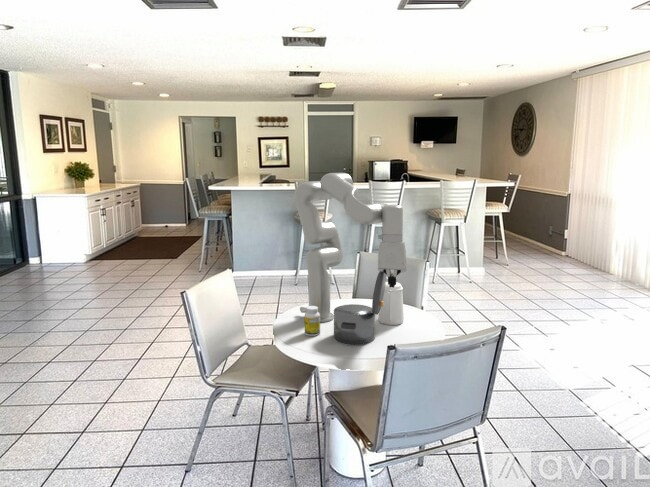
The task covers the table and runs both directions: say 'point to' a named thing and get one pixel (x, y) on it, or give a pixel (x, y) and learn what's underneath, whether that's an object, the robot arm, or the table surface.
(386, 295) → the coffeepot
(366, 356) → the table surface
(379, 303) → the cooker lid
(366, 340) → the cooker pot
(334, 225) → the robot arm
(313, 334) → the pill bottle
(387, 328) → the table surface
